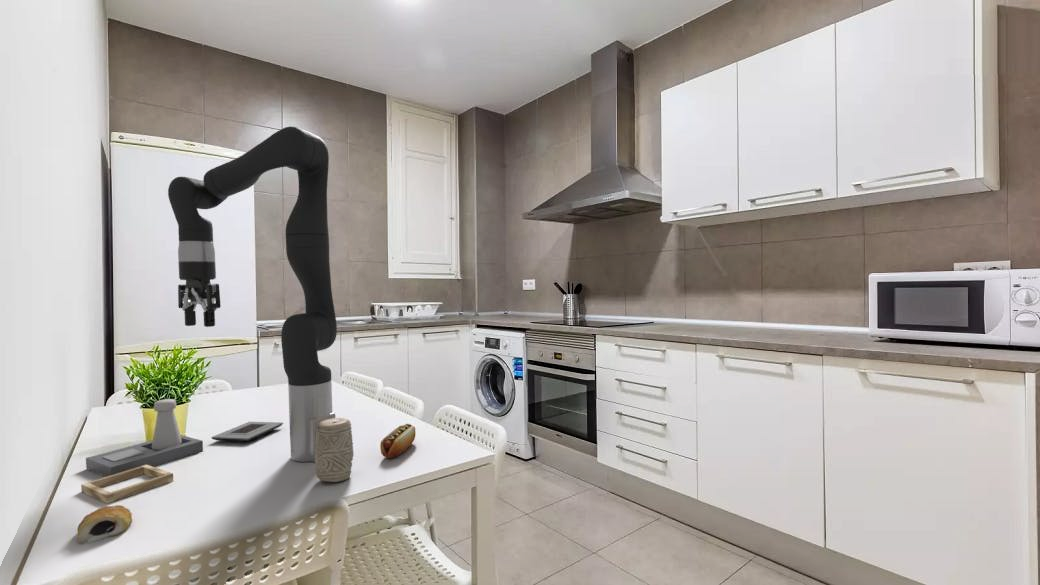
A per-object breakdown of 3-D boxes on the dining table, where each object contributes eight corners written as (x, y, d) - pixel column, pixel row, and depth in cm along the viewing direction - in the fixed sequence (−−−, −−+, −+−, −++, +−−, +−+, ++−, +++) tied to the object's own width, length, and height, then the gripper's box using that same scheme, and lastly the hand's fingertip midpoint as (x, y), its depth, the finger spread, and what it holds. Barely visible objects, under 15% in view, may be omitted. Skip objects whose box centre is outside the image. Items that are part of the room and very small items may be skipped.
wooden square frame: (173, 480, 98) (173, 473, 98) (107, 503, 88) (106, 495, 88) (146, 471, 103) (146, 464, 103) (81, 491, 93) (81, 484, 93)
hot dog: (420, 442, 118) (419, 422, 118) (398, 462, 105) (398, 440, 105) (401, 441, 119) (400, 421, 119) (377, 461, 106) (376, 439, 106)
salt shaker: (186, 452, 114) (184, 398, 114) (158, 460, 109) (156, 404, 109) (175, 448, 117) (173, 396, 117) (147, 455, 112) (145, 401, 112)
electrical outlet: (248, 446, 119) (247, 437, 119) (211, 445, 120) (211, 435, 120) (283, 430, 131) (283, 421, 131) (249, 428, 133) (249, 420, 133)
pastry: (83, 524, 81) (83, 502, 81) (134, 512, 85) (133, 491, 85) (75, 548, 74) (74, 524, 74) (131, 533, 78) (130, 510, 78)
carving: (360, 476, 98) (358, 419, 97) (325, 489, 92) (323, 428, 92) (344, 469, 102) (342, 414, 101) (309, 481, 96) (307, 422, 96)
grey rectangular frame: (203, 450, 115) (202, 439, 115) (111, 479, 99) (110, 466, 99) (176, 443, 121) (176, 433, 121) (86, 469, 105) (85, 457, 105)
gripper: (229, 259, 117) (232, 325, 117) (197, 261, 123) (200, 323, 124) (196, 259, 110) (199, 328, 111) (164, 261, 117) (167, 326, 117)
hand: (199, 326), depth 117 cm, fingers open, 8 cm apart
